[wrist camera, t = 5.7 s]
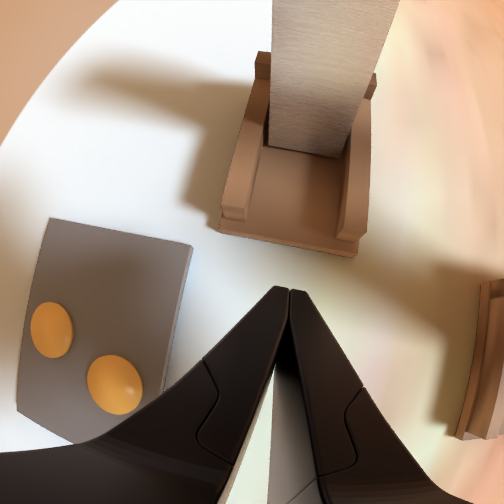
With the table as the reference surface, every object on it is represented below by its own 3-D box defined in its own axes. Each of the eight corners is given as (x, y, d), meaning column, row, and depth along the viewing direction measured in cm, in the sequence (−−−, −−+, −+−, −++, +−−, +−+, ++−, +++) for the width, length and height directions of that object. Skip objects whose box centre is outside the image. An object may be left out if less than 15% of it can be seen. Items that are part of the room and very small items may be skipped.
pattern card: (151, 470, 12) (145, 477, 12) (22, 409, 13) (13, 411, 12) (193, 248, 15) (189, 243, 14) (55, 221, 16) (47, 216, 15)
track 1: (352, 257, 15) (379, 235, 11) (220, 232, 15) (208, 203, 12) (361, 115, 17) (379, 74, 13) (255, 95, 17) (254, 50, 14)
